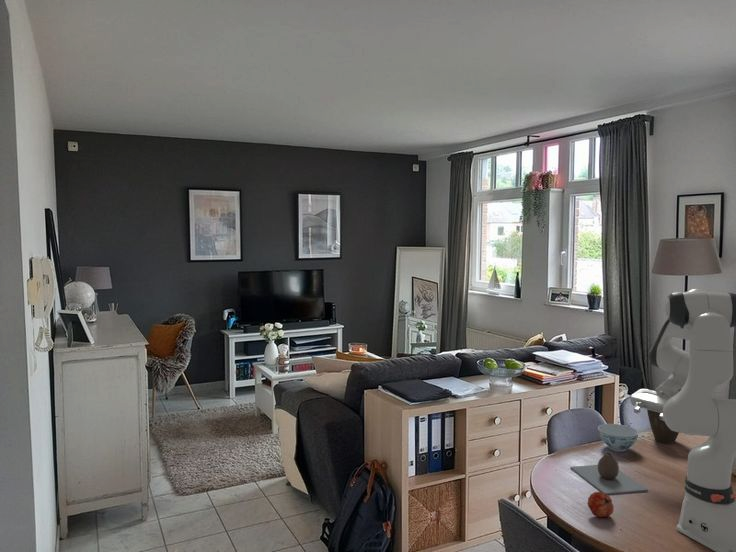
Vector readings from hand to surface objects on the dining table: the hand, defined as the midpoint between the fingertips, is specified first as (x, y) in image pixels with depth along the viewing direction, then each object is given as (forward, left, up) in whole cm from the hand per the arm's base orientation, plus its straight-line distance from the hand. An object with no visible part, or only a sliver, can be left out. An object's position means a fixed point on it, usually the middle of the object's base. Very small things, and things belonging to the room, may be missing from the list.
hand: (648, 415), depth 205 cm
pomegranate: (-22, +31, -23) cm, 45 cm away
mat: (+2, +14, -23) cm, 27 cm away
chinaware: (+28, -7, -23) cm, 37 cm away
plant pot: (+33, -32, -23) cm, 51 cm away
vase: (+2, +14, -23) cm, 26 cm away
